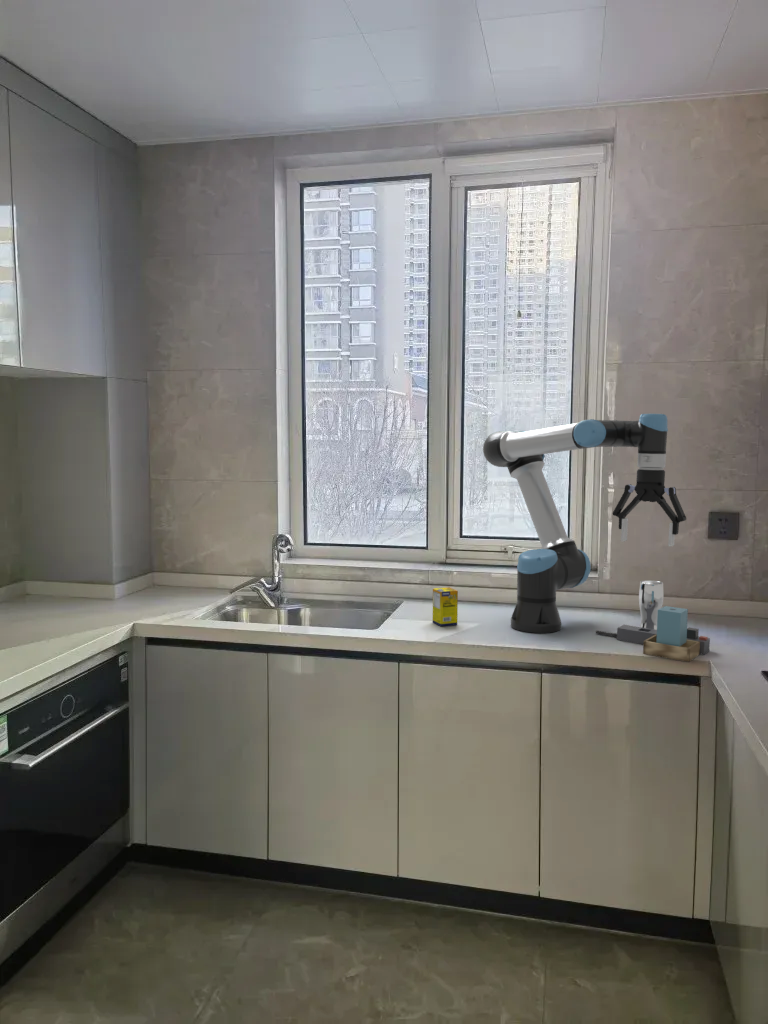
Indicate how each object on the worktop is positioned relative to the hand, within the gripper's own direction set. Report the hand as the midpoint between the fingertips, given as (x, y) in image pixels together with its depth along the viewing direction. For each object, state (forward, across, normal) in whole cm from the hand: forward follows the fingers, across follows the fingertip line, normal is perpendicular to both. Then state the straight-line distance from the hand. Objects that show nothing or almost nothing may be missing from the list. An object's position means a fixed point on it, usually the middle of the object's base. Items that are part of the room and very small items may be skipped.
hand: (647, 543), depth 218 cm
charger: (+27, +12, -10) cm, 31 cm away
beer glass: (+28, -2, +10) cm, 30 cm away
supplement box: (+29, -54, -22) cm, 65 cm away
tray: (+28, +12, -10) cm, 32 cm away
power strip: (+28, +3, -3) cm, 28 cm away
